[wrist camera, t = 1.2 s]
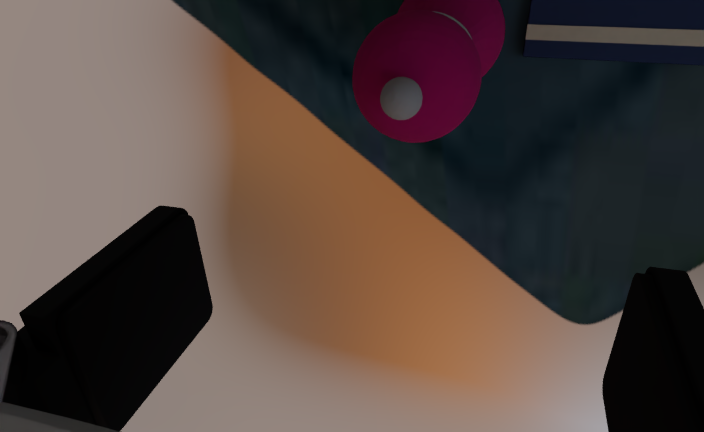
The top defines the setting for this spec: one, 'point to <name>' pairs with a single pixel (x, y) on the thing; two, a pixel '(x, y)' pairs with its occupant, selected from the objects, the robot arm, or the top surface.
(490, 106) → the top surface
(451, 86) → the pepper mill
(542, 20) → the tea towel
